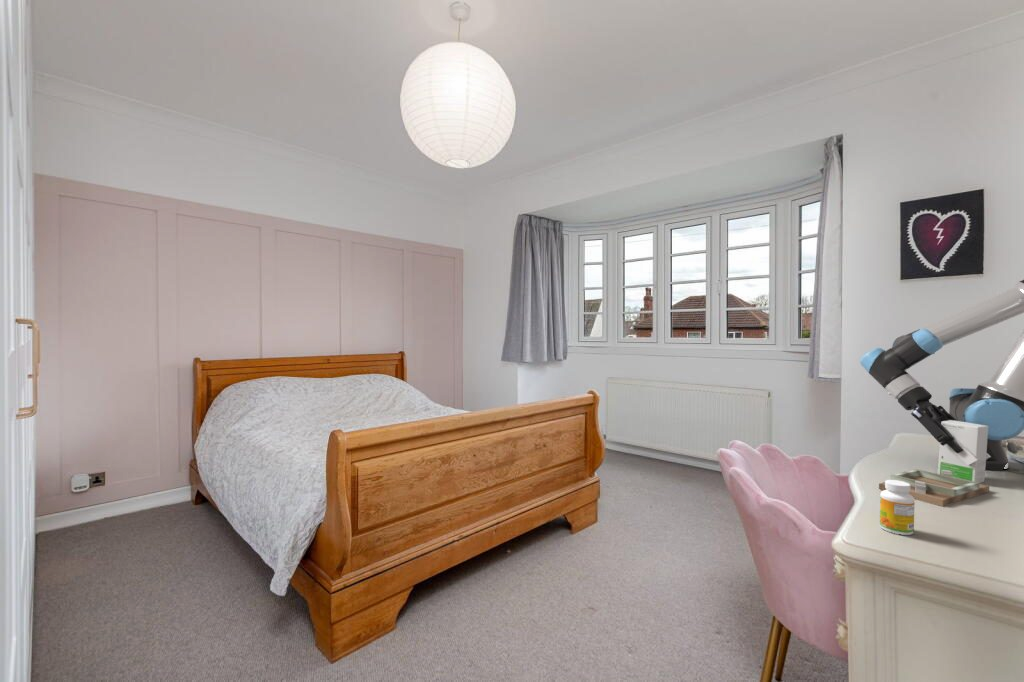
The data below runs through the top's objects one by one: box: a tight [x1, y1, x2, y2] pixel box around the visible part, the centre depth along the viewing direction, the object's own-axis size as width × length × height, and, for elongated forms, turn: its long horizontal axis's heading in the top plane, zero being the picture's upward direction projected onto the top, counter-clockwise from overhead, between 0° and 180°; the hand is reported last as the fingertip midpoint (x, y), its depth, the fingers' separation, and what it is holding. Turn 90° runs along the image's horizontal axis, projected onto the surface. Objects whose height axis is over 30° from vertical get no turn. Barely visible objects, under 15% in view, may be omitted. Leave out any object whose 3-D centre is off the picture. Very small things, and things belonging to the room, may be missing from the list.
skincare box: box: [937, 420, 988, 484], centre depth 131 cm, size 8×7×16 cm
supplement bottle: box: [879, 479, 916, 536], centre depth 96 cm, size 5×5×10 cm
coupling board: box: [878, 468, 990, 507], centre depth 121 cm, size 24×13×3 cm, turn 116°
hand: (979, 460), depth 128 cm, fingers closed on skincare box, 6 cm apart
